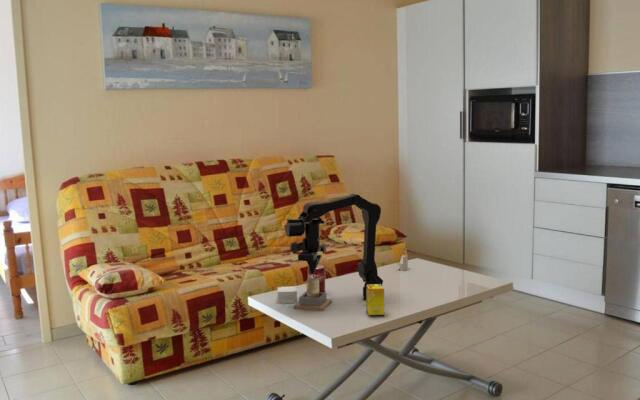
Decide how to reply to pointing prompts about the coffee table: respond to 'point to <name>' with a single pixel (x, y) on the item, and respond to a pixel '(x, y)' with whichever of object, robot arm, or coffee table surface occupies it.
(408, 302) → the coffee table surface
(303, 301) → the sleeve socket
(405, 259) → the architectural model
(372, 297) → the supplement box
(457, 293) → the coffee table surface
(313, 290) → the maple peg
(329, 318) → the coffee table surface
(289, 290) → the small box
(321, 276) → the soda can
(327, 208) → the robot arm
